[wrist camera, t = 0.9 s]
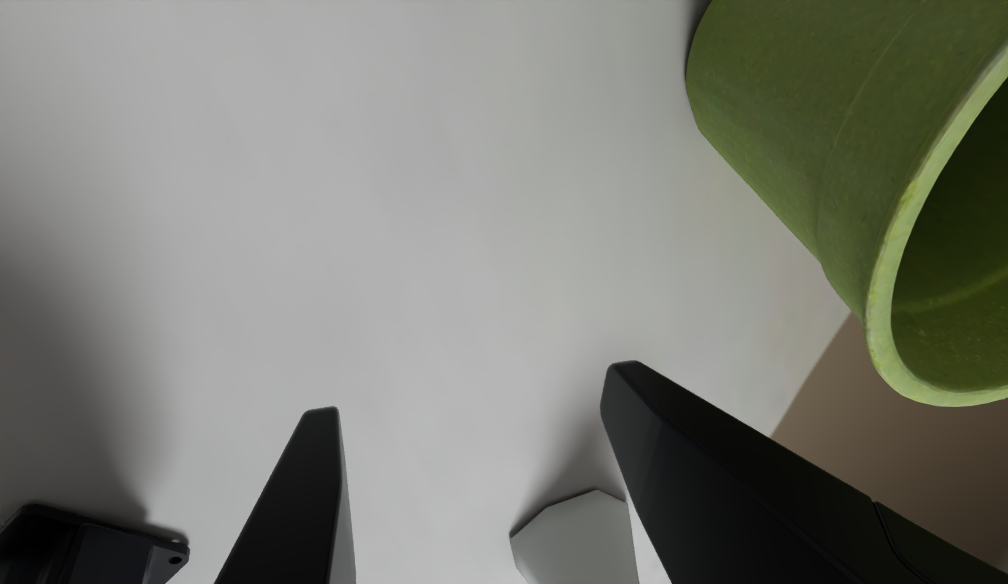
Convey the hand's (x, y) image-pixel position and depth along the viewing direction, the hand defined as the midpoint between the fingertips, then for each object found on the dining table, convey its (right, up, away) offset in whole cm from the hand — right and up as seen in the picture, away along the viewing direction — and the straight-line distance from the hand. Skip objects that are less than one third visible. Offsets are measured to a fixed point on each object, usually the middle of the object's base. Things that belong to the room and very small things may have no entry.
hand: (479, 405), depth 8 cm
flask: (+4, -12, +25) cm, 28 cm away
